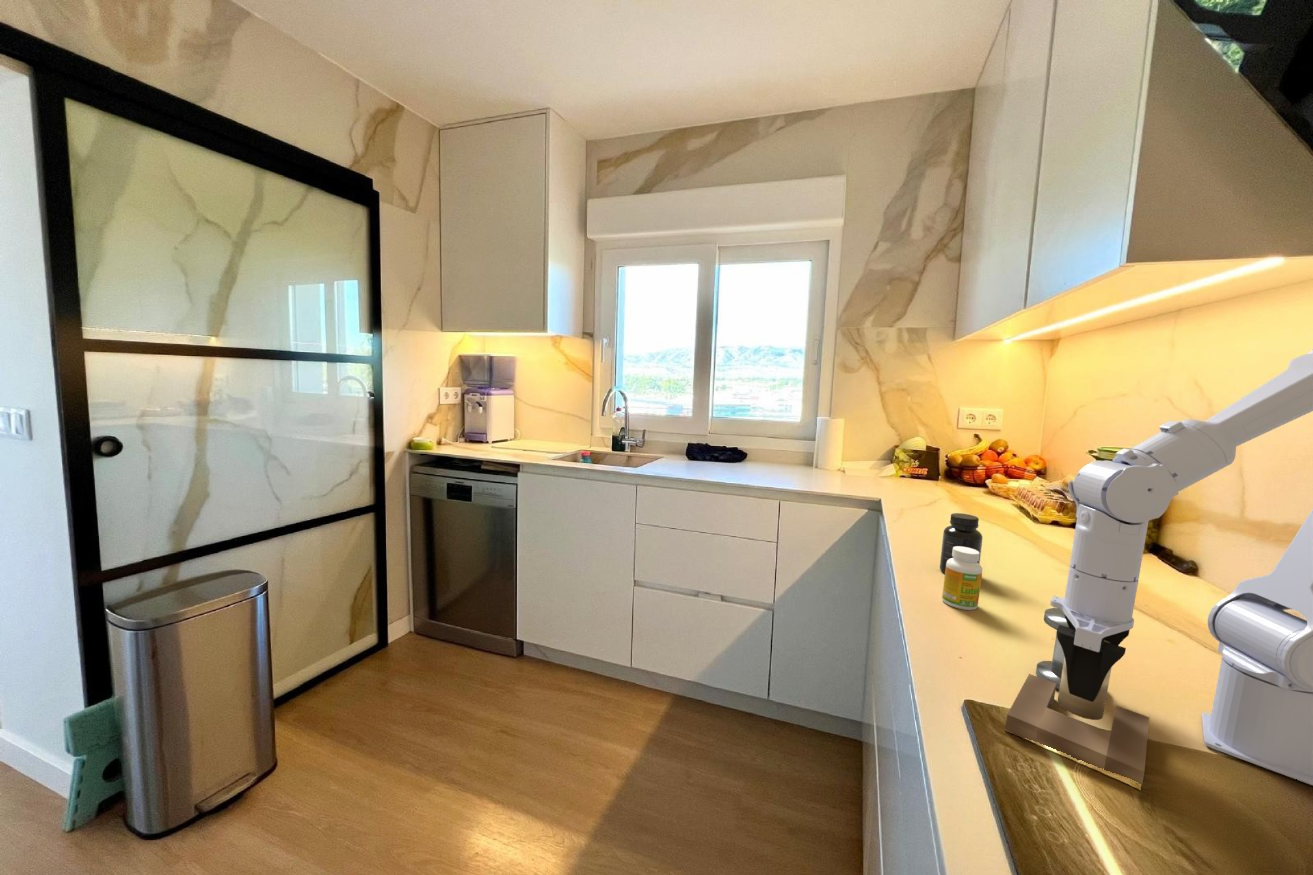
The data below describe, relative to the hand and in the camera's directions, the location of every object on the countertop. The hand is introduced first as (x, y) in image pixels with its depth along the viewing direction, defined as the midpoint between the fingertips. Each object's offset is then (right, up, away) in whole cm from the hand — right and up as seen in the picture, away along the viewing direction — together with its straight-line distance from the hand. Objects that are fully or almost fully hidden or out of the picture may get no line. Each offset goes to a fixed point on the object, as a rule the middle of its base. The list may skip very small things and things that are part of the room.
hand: (1084, 688), depth 58 cm
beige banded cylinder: (0, -2, 0) cm, 2 cm away
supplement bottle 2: (+5, -1, +32) cm, 33 cm away
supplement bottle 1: (+13, 0, +47) cm, 49 cm away
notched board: (-2, -4, -1) cm, 5 cm away
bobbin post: (+5, -4, +9) cm, 11 cm away
